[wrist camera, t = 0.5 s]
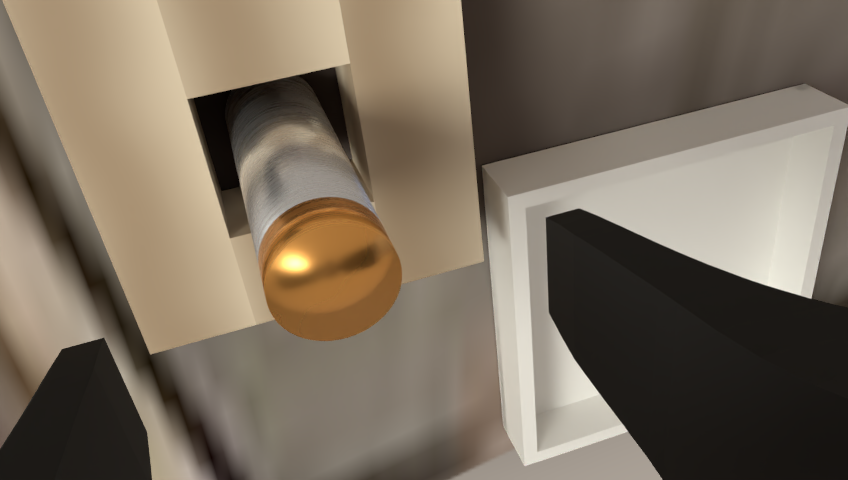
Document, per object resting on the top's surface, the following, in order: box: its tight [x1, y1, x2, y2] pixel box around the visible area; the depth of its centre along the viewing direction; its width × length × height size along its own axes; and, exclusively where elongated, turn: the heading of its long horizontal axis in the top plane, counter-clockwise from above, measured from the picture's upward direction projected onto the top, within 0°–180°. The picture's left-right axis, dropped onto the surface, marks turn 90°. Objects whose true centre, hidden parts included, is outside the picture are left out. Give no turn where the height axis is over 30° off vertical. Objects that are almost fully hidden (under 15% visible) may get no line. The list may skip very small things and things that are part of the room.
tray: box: [482, 84, 848, 466], centre depth 26 cm, size 11×11×2 cm
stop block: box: [3, 0, 484, 354], centre depth 19 cm, size 9×9×2 cm
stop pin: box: [225, 75, 402, 341], centre depth 17 cm, size 2×2×8 cm
